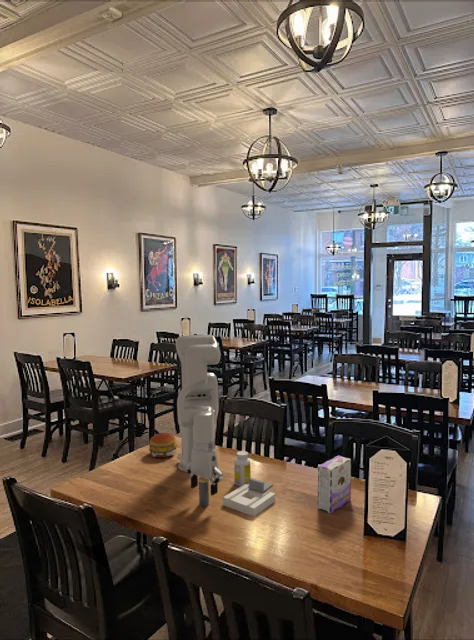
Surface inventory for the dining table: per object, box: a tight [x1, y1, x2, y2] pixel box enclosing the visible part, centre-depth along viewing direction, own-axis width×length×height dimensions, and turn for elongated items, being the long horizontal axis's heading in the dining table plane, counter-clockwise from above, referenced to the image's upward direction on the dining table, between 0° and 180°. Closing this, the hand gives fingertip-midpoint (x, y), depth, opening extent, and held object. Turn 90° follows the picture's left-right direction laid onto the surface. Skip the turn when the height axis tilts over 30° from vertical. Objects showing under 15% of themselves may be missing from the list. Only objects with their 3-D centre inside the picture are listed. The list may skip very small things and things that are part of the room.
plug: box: [198, 476, 210, 508], centre depth 164 cm, size 4×4×10 cm
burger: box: [148, 432, 178, 458], centre depth 214 cm, size 13×14×10 cm
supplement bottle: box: [233, 450, 252, 487], centre depth 182 cm, size 7×7×13 cm
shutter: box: [248, 477, 274, 493], centre depth 171 cm, size 7×7×4 cm
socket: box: [222, 484, 276, 517], centre depth 166 cm, size 14×14×3 cm
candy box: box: [317, 455, 352, 514], centre depth 164 cm, size 14×6×16 cm, turn 134°
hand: (204, 490), depth 164 cm, fingers open, 9 cm apart
